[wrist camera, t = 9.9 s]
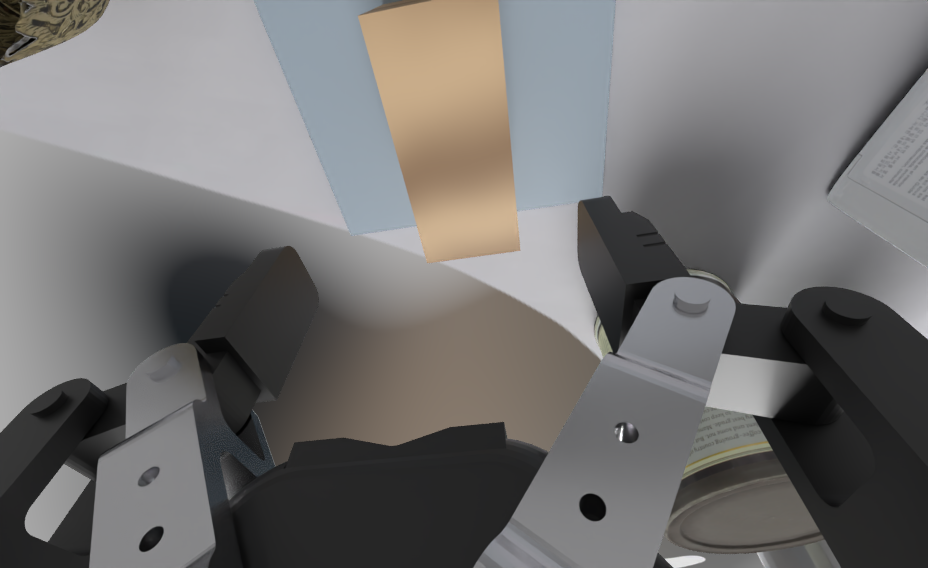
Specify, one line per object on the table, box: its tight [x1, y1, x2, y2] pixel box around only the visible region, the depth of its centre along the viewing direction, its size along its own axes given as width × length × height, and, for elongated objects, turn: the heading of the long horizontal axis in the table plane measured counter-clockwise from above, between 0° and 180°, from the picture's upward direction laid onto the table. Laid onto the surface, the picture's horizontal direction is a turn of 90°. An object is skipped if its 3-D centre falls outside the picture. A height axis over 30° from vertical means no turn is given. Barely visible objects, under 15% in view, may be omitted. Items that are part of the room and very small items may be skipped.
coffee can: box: [595, 269, 825, 554], centre depth 24 cm, size 10×10×14 cm
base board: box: [254, 0, 616, 236], centre depth 18 cm, size 16×15×1 cm
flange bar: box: [358, 0, 520, 263], centre depth 17 cm, size 10×4×5 cm, turn 10°
